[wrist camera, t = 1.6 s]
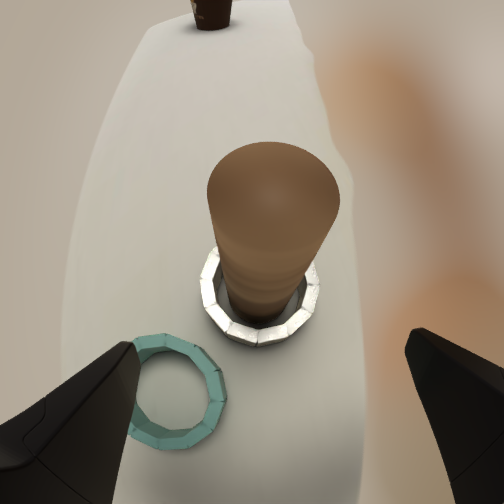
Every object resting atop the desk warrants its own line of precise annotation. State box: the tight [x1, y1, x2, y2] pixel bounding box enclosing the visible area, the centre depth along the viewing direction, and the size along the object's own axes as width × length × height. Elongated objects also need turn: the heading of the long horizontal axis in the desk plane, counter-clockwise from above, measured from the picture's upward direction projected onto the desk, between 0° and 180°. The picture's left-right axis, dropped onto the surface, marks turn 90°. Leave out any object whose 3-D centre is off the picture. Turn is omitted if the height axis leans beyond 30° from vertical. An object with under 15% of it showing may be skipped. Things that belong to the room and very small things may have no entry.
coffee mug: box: [191, 0, 232, 31], centre depth 38 cm, size 12×9×10 cm
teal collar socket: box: [127, 333, 227, 450], centre depth 17 cm, size 8×8×3 cm
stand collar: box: [200, 247, 320, 347], centre depth 20 cm, size 8×8×3 cm
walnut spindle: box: [207, 142, 340, 324], centre depth 15 cm, size 4×4×13 cm
